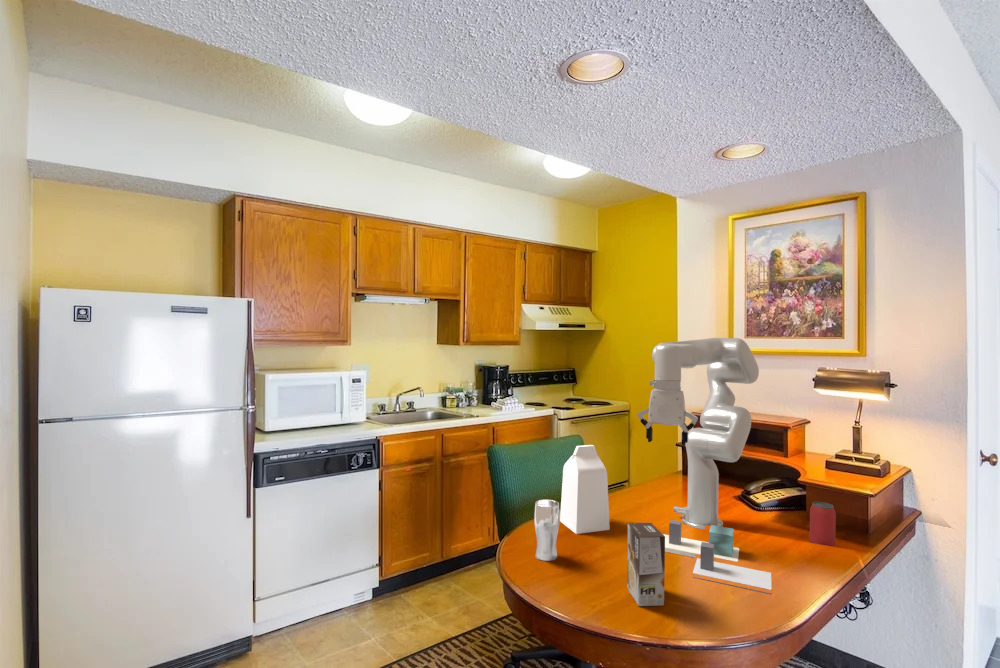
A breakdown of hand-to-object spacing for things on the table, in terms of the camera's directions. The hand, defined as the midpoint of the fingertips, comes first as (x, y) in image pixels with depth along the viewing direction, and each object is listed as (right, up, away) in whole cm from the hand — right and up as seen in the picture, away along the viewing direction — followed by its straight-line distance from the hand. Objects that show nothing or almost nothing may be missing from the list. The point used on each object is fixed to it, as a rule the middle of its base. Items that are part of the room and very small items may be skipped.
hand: (666, 443), depth 154 cm
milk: (-22, -30, +15) cm, 40 cm away
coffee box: (-15, -30, -31) cm, 46 cm away
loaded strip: (+7, -30, -5) cm, 31 cm away
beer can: (+48, -31, +2) cm, 57 cm away
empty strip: (+10, -30, -21) cm, 38 cm away
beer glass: (-37, -30, -9) cm, 48 cm away
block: (+13, -29, -8) cm, 33 cm away
